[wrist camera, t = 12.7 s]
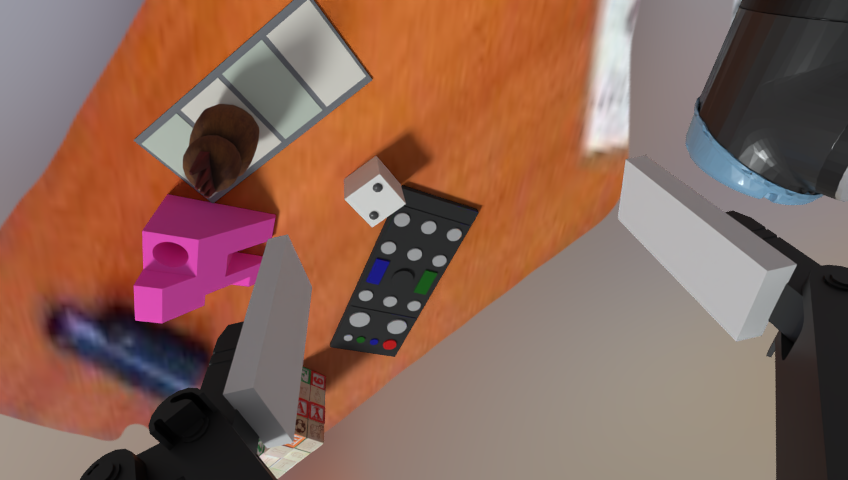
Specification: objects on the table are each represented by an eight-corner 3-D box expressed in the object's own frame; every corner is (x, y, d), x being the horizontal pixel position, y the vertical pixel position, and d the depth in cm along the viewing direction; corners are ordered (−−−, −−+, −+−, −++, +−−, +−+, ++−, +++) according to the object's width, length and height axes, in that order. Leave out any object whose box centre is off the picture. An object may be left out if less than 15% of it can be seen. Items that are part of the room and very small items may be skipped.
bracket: (167, 261, 53) (135, 320, 45) (167, 193, 48) (132, 245, 39) (265, 275, 57) (252, 332, 48) (276, 214, 51) (264, 265, 43)
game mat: (305, -11, 38) (305, -11, 38) (372, 79, 44) (372, 79, 44) (134, 139, 43) (133, 140, 43) (213, 203, 49) (212, 203, 49)
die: (376, 155, 49) (379, 174, 45) (400, 183, 52) (406, 204, 48) (343, 178, 50) (344, 199, 46) (369, 205, 53) (372, 227, 49)
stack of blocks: (255, 435, 78) (242, 506, 68) (224, 425, 75) (206, 499, 65) (326, 375, 71) (324, 444, 61) (296, 362, 68) (288, 433, 58)
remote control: (330, 340, 67) (330, 349, 65) (401, 183, 52) (403, 190, 51) (393, 349, 71) (395, 359, 69) (475, 206, 56) (479, 214, 55)
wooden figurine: (212, 85, 41) (161, 143, 29) (270, 110, 44) (245, 172, 32) (197, 143, 44) (145, 217, 32) (252, 163, 47) (223, 239, 35)
